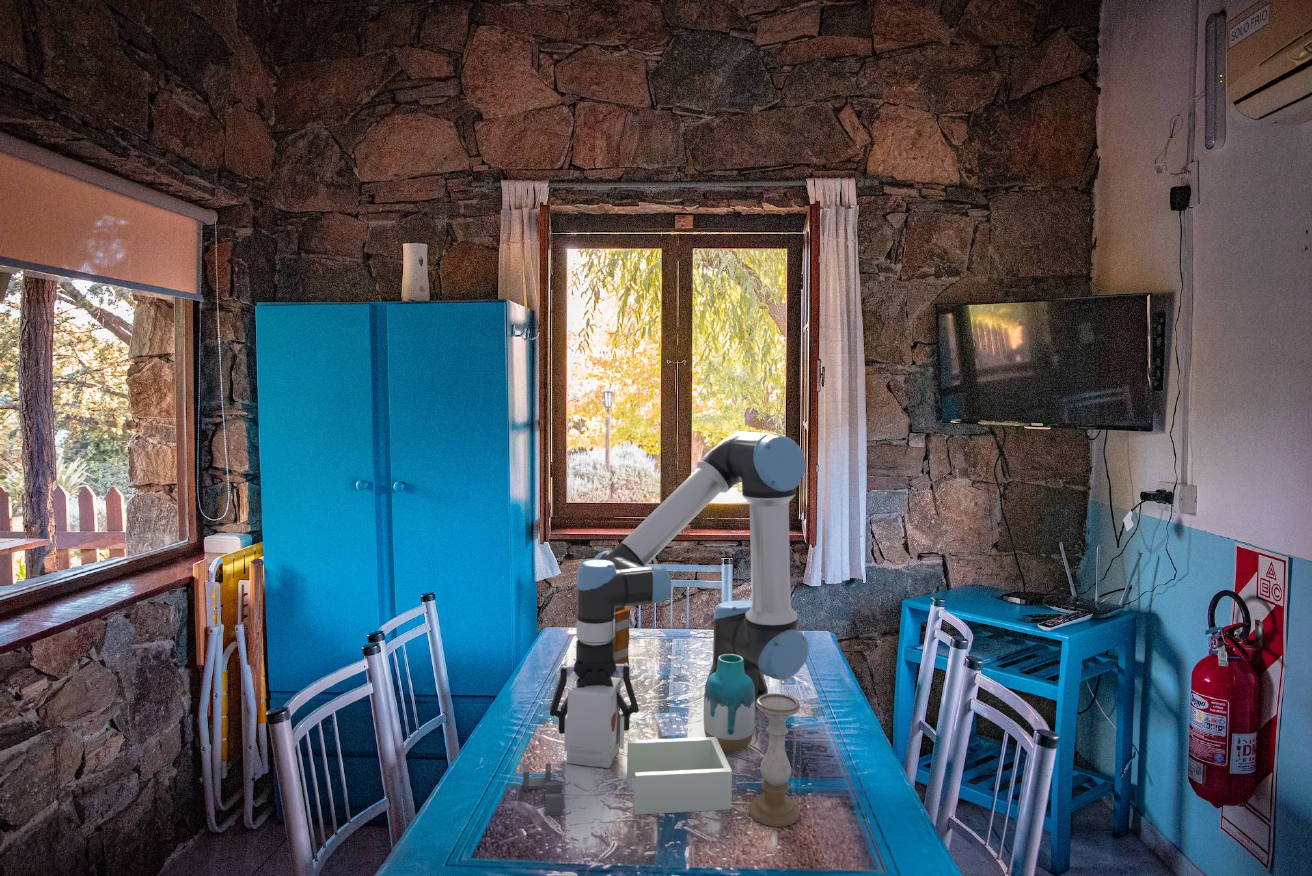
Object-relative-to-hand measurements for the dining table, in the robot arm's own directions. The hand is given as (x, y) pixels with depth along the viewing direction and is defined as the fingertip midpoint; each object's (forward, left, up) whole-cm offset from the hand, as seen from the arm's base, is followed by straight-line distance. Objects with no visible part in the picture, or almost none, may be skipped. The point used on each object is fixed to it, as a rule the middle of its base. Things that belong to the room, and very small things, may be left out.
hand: (593, 746), depth 156 cm
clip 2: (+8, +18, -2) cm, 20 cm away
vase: (-28, -1, -2) cm, 28 cm away
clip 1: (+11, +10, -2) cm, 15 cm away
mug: (-5, -50, -2) cm, 50 cm away
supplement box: (0, 0, -2) cm, 2 cm away
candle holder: (-30, +24, -2) cm, 39 cm away
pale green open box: (-14, +15, -2) cm, 21 cm away
